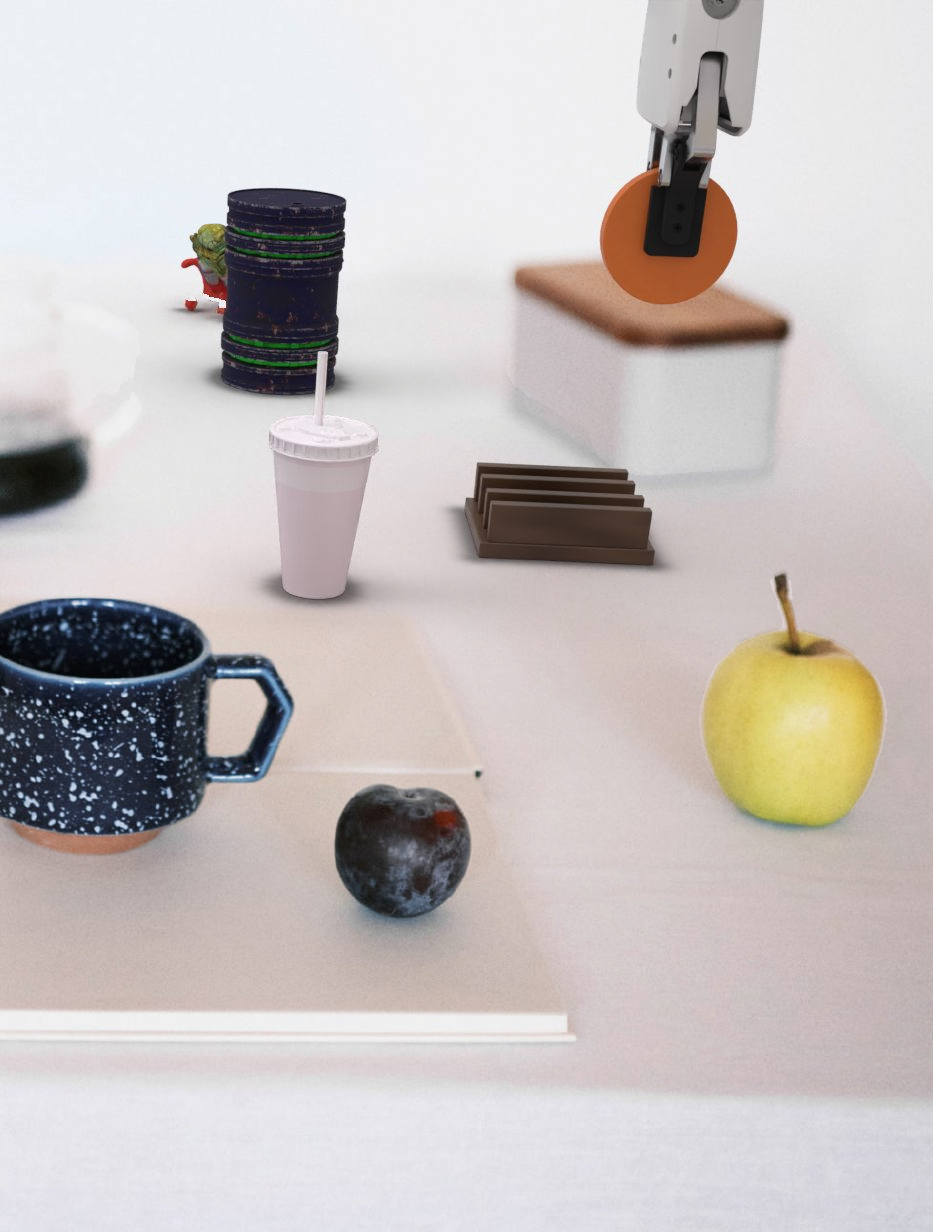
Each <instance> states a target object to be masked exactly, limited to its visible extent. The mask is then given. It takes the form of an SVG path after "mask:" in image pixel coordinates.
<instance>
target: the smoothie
mask: <svg viewBox="0 0 933 1232" xmlns="http://www.w3.org/2000/svg"><path fill="white" fill-rule="evenodd" d="M327 358H328V352H325V351H319V352H318V361H317V377H316V392H315V393H314V394H315V395H314V396H315V397H314V409H313V410H314V411H313V414H301V415H291V416H287V417H283V418H280V419H277V420H275V421H274V422H272V423H271V424H270V425H269V427H268V438H267V446H268V447H269V449H271V450H272V452H273V454H272V455H273V468H274V469H273V471H274V481H275V497H276V509H277V524H278V538H279V539H278V540H279V554H280V566H281V579H282V580H281V582H282V589H283V590H284V591H285V592H287V593H288V594H290V595H292V596H295V597H299V598H304V599H310V600H311V599H313V600H325V599H332V598H336V597H339V596H341V595H342V594H343V593H344V592H345V591H346V585H347V580H348V575H349V572H350V571H349V570H350V565H351V561H352V556H353V552H354V551H353V550H354V546H355V541H356V537H357V536H356V535H357V530H358V527H359V522H360V516H361V512H362V507H363V502H364V497H365V493H366V487H367V483H368V479H369V472H370V466H371V461H372V457H373V456H375V455H376V454H377V453H378V452H379V435H380V434H379V431H378V430H377V429H376V428H375V427H373V425H371V424H369V423H367V422H364V421H361V420H358V419H354V418H350V417H345V416H337V415H327V414H325V406H326V405H325V402H326V390H327V389H326V374H327ZM325 389H326V390H325Z"/></svg>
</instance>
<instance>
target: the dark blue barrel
mask: <svg viewBox="0 0 933 1232" xmlns="http://www.w3.org/2000/svg"><path fill="white" fill-rule="evenodd" d="M226 199H227V201H226V204H227V205H226V206H227V207H228V211H227V212H226V224H227V225H225V226H226V227H225V242H226V243H227V244H226V251H225V253H224V256H225V264H226V266H227V267H228V274H227V301H226V310H225V311H224V313H223V314H222V331H221V333H220V348H221V349H222V352H221V360H222V368H221V370H220V379H221V381H222V382H223V383H225V384H226V385H228V386H230V387H233V388H236V389H240V390H243V391H247V392H253V393H258V394H267V395H268V394H269V395H284V396H285V395H306V394H307V395H308V394H315V393H316V377H317V361H318V352H319V351H325V352H328V358H327V374H326V389H325V391H326V390H329V389H331V388H332V387H334V386H335V383H336V374H335V367H336V365H337V357H336V356H337V355H338V353H339V346H340V345H339V344H340V343H339V342H340V338H339V337H338V334H339V325H340V318H339V316H338V314H337V311H338V294H339V282H340V281H339V280H340V272H341V271H342V269H343V264H344V262H345V259H344V250H343V249H344V248H345V246H346V234H347V233H346V231H344V230H345V229H346V218H345V212H346V211H347V199H346V198H345V197H344V196H341V195H338V194H335V193H330V192H326V191H320V190H312V189H304V188H303V189H302V188H288V187H287V188H285V187H255V188H244V189H238V190H232V191H231V192H228V193H227V197H226Z"/></svg>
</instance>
